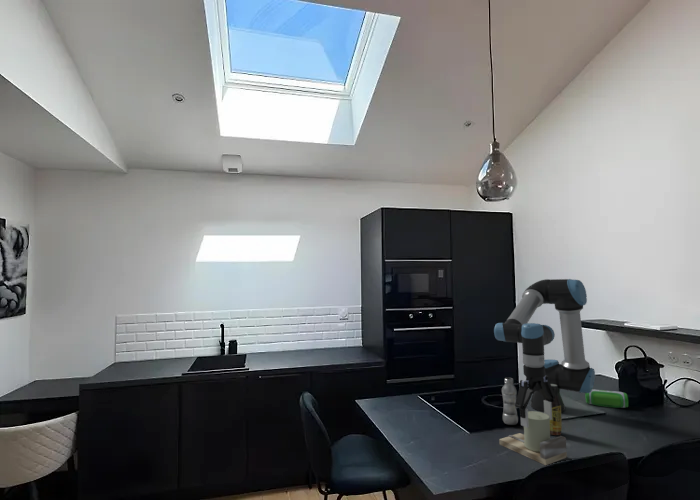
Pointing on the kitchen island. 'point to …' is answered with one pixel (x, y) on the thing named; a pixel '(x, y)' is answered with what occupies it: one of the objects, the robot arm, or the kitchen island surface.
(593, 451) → the kitchen island surface
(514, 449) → the rail board
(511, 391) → the plastic bottle
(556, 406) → the sauce bottle
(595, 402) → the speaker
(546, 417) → the can
